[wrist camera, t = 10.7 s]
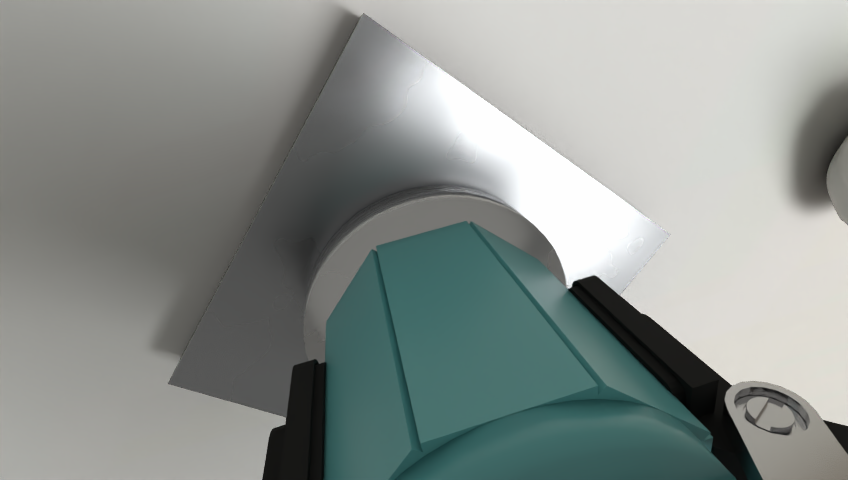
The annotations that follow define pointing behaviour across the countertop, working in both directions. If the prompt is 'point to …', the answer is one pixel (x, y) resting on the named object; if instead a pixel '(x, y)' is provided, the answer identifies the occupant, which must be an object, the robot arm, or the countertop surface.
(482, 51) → the countertop surface
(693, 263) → the countertop surface
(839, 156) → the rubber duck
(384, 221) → the acorn nut on plate
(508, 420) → the cap
